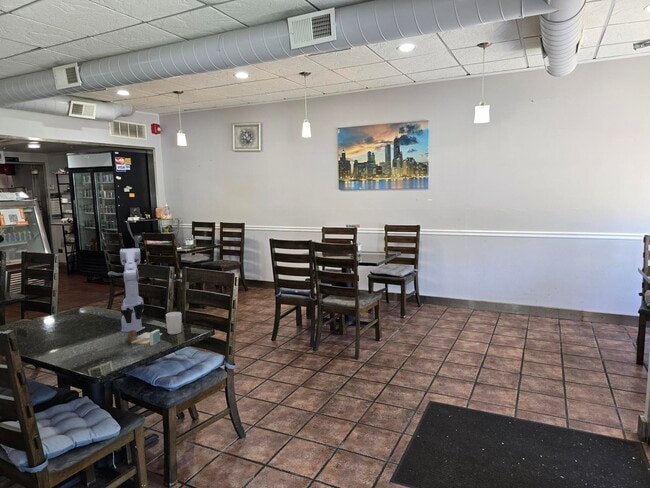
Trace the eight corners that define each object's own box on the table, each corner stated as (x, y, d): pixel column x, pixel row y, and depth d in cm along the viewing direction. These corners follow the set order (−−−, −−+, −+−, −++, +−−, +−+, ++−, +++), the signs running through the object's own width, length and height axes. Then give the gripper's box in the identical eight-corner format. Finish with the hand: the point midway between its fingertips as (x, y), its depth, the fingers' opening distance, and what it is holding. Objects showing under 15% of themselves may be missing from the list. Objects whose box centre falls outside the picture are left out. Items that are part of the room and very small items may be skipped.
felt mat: (135, 338, 217) (135, 337, 217) (145, 333, 225) (145, 332, 225) (153, 339, 215) (153, 338, 215) (162, 334, 223) (162, 333, 223)
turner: (126, 342, 210) (125, 333, 210) (133, 338, 216) (133, 329, 215) (145, 344, 208) (145, 334, 208) (152, 340, 214) (152, 330, 214)
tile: (150, 345, 207) (149, 333, 206) (157, 341, 213) (156, 329, 212) (153, 345, 206) (152, 333, 206) (160, 341, 212) (159, 329, 212)
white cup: (169, 335, 220) (168, 316, 219) (164, 332, 227) (163, 313, 225) (184, 332, 225) (183, 314, 224) (179, 329, 231) (178, 311, 230)
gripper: (130, 297, 202) (131, 325, 204) (148, 291, 217) (149, 317, 218) (116, 296, 204) (118, 324, 205) (135, 291, 218) (137, 317, 219)
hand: (133, 321), depth 211 cm, fingers open, 7 cm apart
